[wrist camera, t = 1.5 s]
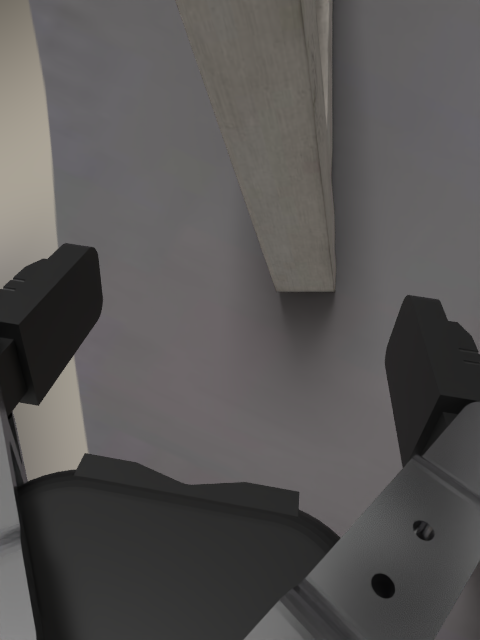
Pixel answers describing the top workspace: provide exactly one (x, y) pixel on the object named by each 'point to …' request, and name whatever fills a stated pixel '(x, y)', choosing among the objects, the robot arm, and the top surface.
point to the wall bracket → (275, 123)
